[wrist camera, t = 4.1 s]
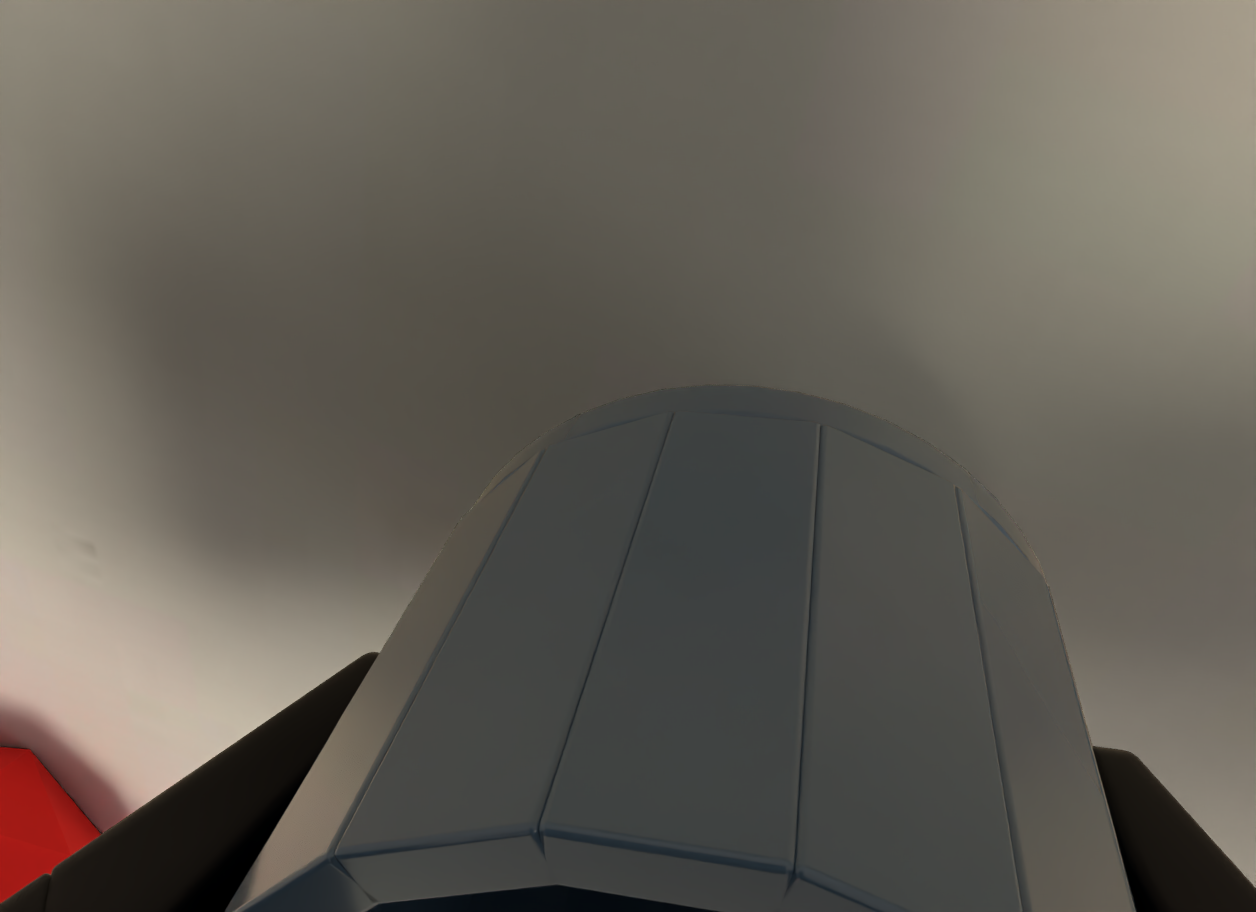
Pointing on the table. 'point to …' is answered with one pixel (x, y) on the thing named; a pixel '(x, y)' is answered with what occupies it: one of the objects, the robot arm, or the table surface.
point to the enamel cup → (713, 690)
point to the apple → (35, 821)
